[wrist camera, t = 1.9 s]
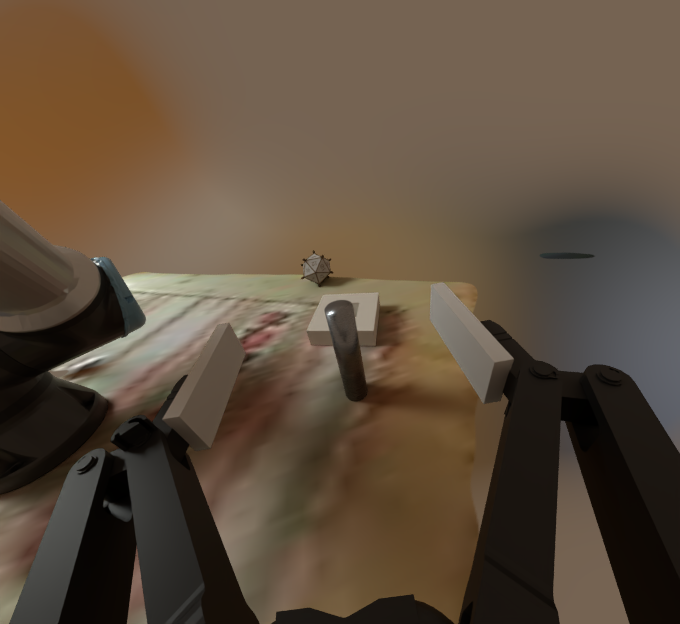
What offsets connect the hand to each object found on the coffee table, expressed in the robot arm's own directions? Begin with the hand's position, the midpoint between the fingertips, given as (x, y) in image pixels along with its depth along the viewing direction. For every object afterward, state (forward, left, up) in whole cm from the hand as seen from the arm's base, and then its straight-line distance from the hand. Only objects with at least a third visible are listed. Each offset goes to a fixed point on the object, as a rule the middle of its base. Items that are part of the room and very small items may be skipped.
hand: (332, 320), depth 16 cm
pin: (-2, +9, -20) cm, 22 cm away
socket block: (-6, +25, -20) cm, 33 cm away
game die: (-17, +43, -21) cm, 51 cm away
